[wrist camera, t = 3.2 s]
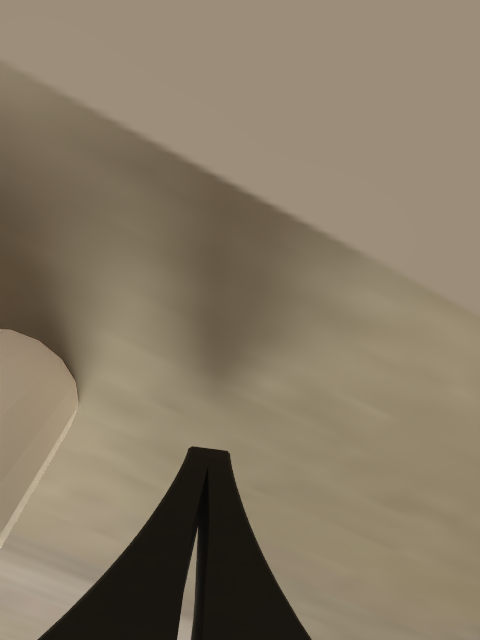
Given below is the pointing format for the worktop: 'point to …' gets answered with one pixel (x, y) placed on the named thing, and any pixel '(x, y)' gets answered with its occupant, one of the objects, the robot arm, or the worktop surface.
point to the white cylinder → (29, 418)
